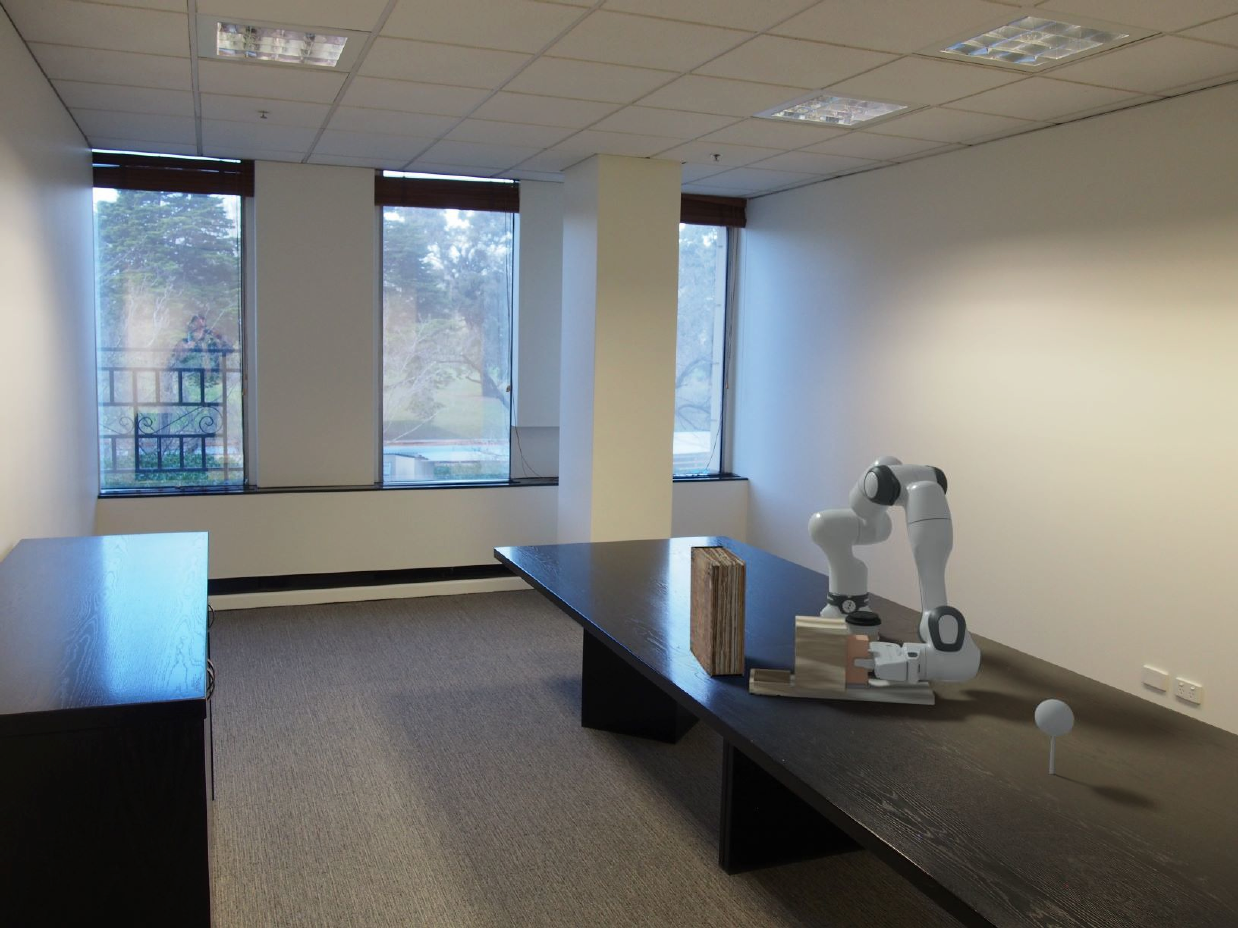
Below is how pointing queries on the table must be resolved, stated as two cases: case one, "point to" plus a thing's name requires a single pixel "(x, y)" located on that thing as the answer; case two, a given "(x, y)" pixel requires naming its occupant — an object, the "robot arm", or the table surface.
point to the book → (717, 610)
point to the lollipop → (1054, 722)
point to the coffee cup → (863, 625)
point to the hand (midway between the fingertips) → (853, 657)
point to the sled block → (853, 674)
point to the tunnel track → (830, 669)
